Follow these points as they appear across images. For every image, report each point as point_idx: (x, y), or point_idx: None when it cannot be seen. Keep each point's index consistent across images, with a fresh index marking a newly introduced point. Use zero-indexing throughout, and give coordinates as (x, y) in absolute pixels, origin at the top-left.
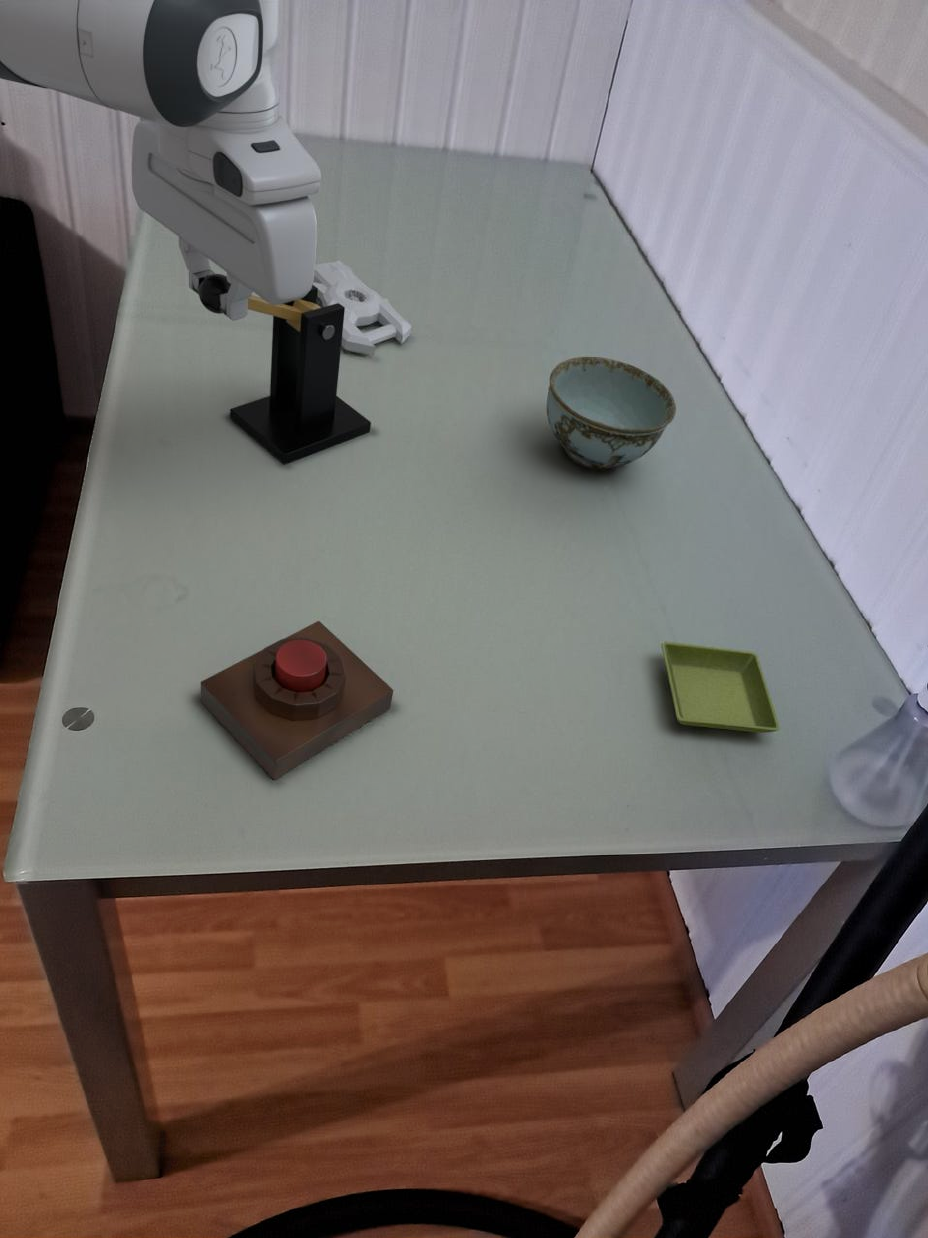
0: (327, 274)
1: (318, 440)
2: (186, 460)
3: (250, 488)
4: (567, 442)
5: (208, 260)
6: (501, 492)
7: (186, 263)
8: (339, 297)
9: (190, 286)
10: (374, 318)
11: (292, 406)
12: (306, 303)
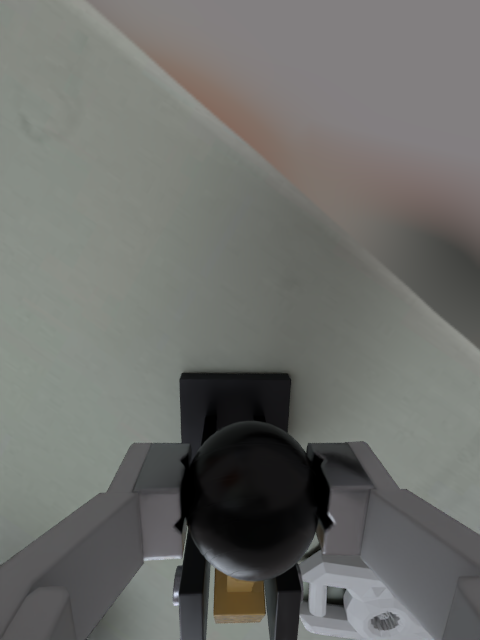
0: None
1: (183, 426)
2: (247, 284)
3: (164, 315)
4: None
5: (390, 589)
6: (30, 525)
7: (426, 508)
8: (390, 607)
9: (358, 444)
10: (345, 608)
11: None
12: (244, 616)
